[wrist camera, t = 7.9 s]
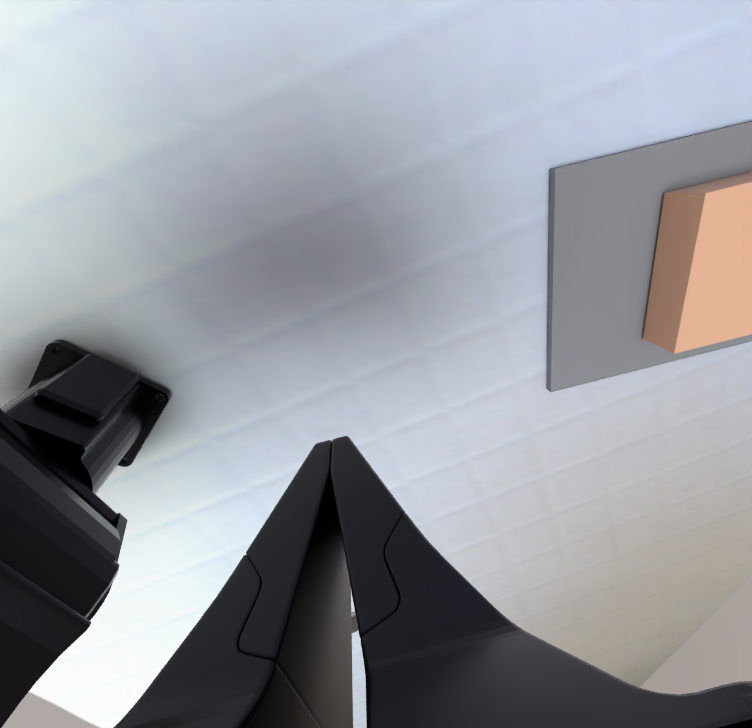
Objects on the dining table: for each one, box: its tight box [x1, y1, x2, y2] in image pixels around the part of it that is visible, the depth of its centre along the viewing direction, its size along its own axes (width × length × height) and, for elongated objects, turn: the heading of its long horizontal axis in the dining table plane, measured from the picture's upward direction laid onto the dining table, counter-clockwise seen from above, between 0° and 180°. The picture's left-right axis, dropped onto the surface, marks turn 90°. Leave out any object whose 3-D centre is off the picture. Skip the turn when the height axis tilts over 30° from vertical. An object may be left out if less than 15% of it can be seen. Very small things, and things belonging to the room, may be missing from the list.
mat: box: [547, 121, 752, 392], centre depth 22 cm, size 16×14×1 cm
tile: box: [643, 172, 752, 354], centre depth 21 cm, size 2×9×9 cm
